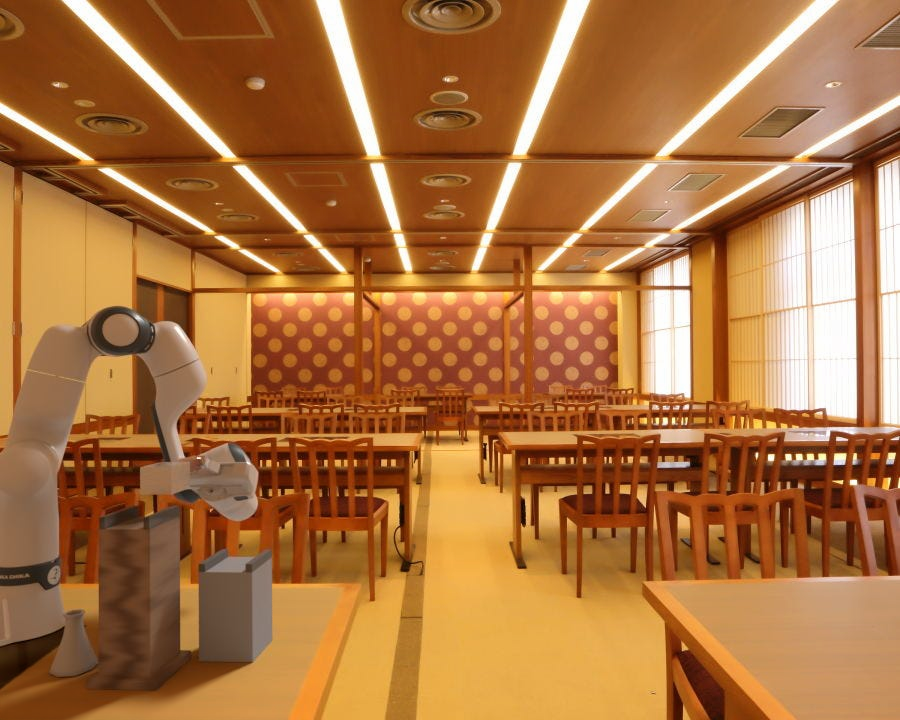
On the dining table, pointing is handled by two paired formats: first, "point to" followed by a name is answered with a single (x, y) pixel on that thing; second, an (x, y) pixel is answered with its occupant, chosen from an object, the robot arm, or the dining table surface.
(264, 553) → the grey post
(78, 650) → the flask
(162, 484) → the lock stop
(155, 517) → the tall post
